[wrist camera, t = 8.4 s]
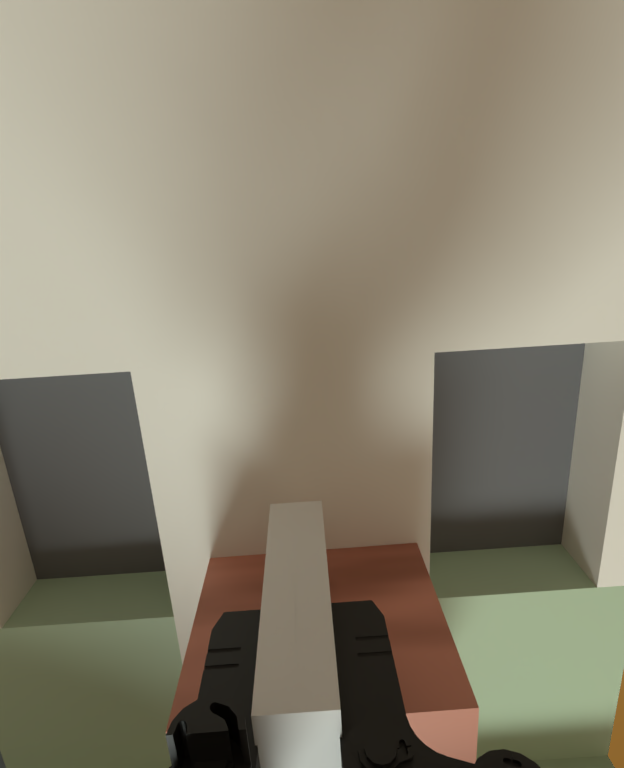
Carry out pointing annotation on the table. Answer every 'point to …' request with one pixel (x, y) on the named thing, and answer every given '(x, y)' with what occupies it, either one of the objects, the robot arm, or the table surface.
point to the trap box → (309, 341)
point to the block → (404, 625)
